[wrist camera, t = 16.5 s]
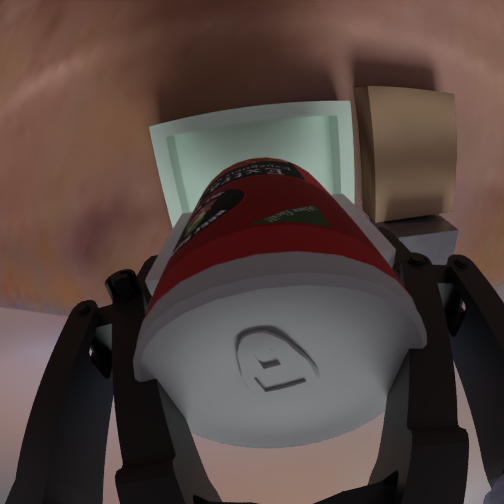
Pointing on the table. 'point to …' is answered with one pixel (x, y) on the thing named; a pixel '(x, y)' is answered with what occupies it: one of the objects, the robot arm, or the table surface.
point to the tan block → (406, 151)
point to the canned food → (275, 314)
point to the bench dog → (425, 236)
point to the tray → (254, 147)
